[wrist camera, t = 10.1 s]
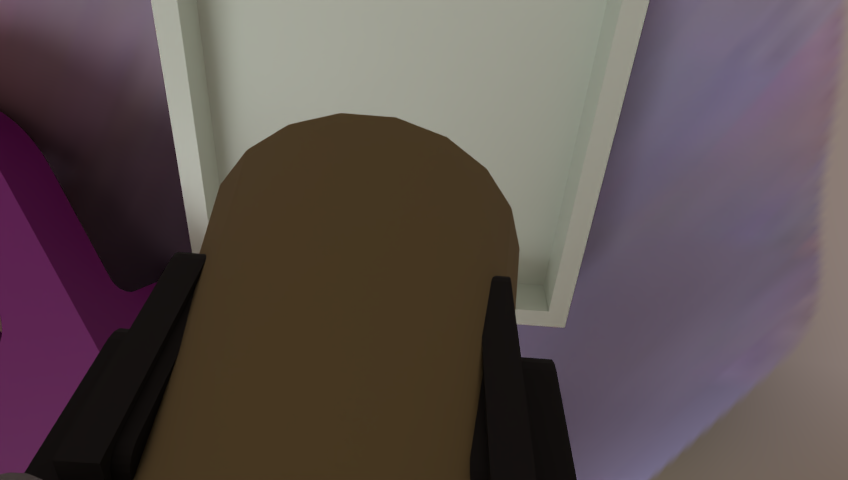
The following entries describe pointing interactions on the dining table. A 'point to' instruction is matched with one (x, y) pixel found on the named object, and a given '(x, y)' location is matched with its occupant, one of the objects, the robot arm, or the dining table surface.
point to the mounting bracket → (46, 299)
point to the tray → (416, 99)
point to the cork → (338, 311)
